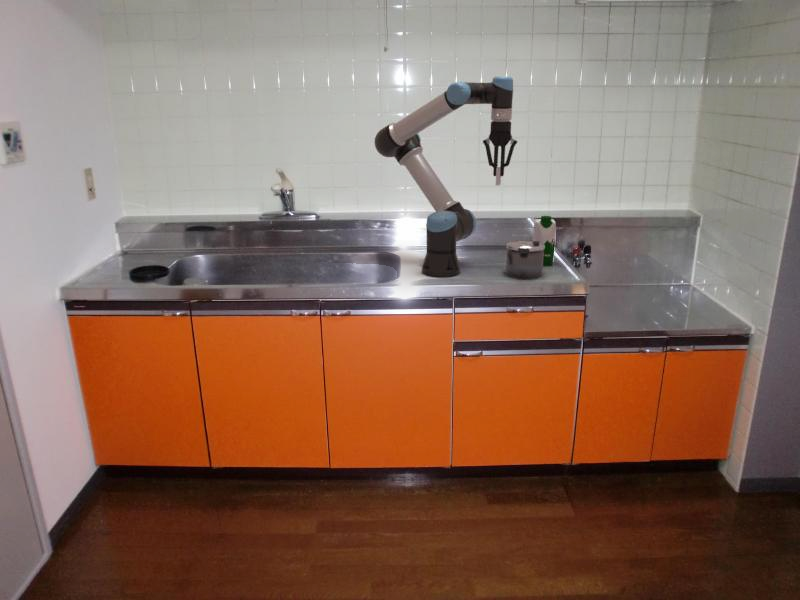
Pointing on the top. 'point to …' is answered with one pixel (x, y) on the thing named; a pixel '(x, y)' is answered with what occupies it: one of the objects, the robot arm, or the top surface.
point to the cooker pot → (524, 264)
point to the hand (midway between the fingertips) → (498, 184)
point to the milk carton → (545, 237)
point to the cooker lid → (525, 246)
